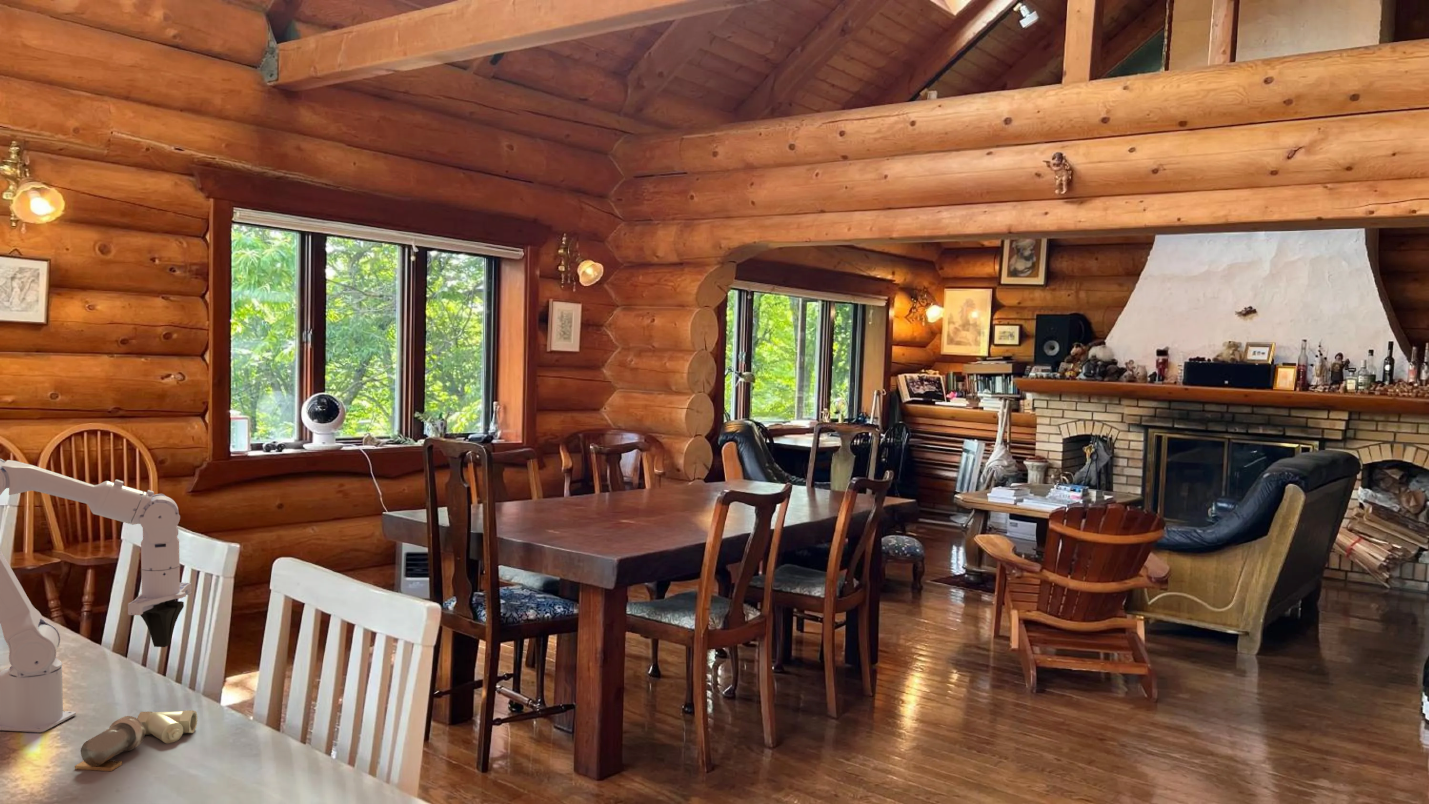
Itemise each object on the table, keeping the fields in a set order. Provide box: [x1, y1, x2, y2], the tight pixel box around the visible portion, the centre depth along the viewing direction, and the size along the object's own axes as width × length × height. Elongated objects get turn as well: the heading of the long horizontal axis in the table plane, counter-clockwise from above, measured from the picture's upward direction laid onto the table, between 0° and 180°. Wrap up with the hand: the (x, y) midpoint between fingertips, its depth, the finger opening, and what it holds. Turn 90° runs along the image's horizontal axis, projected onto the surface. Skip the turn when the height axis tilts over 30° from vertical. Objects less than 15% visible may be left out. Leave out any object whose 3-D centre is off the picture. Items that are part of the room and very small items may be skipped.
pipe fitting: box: [136, 709, 198, 745], centre depth 162 cm, size 8×4×7 cm
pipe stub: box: [74, 715, 146, 772], centre depth 153 cm, size 8×6×5 cm
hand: (161, 645), depth 175 cm, fingers closed
